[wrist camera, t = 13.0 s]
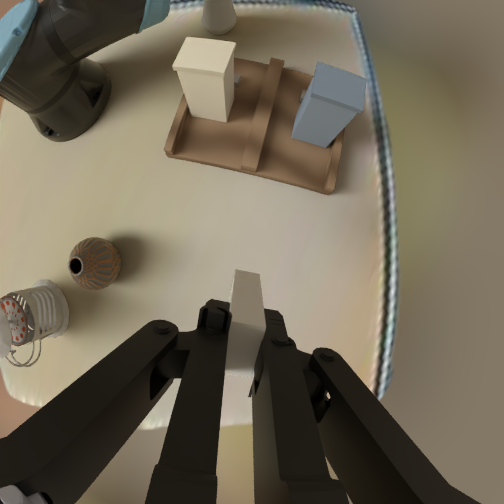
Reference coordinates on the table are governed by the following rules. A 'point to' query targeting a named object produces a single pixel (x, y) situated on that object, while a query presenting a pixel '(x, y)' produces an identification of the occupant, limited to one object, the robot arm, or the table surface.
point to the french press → (32, 317)
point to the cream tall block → (207, 76)
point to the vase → (94, 263)
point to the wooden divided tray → (258, 131)
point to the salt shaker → (218, 16)
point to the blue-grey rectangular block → (328, 105)
